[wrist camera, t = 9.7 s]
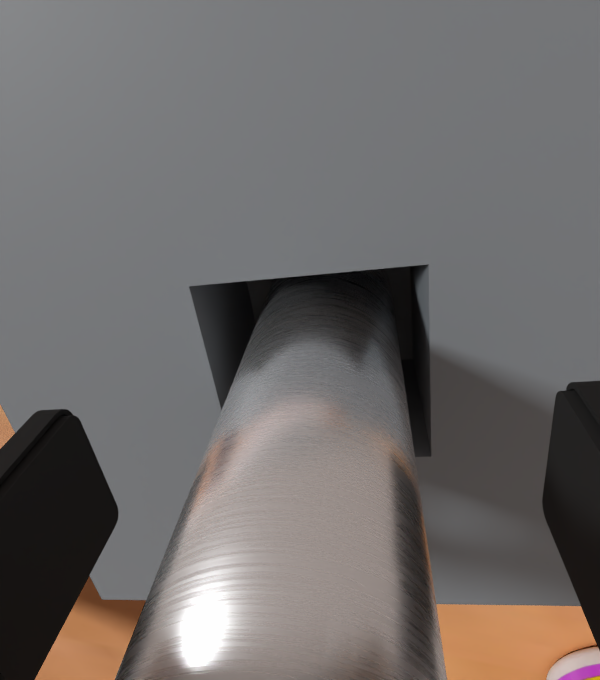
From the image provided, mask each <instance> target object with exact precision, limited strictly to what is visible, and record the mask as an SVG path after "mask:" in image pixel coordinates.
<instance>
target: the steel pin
mask: <svg viewBox="0 0 600 680" xmlns="http://www.w3.org/2000/svg"><path fill="white" fill-rule="evenodd" d="M115 680H447V677H446V670H445V663H444V656H443V649H442V642H441V635H440V628H439V621H438V614H437V607H436V600H435V593H434V586H433V579H432V572H431V565H430V558H429V551H428V544H427V537H426V530H425V523H424V516H423V509H422V502H421V495H420V488H419V481H418V474H417V468H416V461H415V454H414V447H413V440H412V433H411V426H410V419H409V412H408V405H407V398H406V391H405V384H404V377H403V370H402V363H401V356H400V349H399V342H398V335H397V328H396V321H395V314H394V307H393V300H392V293H391V286H390V282H389V278H388V276H387V273H386V271H385V269H373V270H362V271H351V272H340V273H330V274H319V275H308V276H297V277H286V278H275V279H274V280H273V282H272V285H271V287H270V290H269V292H268V295H267V297H266V300H265V302H264V305H263V307H262V310H261V312H260V315H259V317H258V320H257V323H256V325H255V328H254V330H253V333H252V335H251V338H250V340H249V343H248V345H247V348H246V350H245V353H244V355H243V358H242V360H241V363H240V365H239V368H238V370H237V373H236V375H235V378H234V380H233V383H232V385H231V388H230V391H229V393H228V396H227V398H226V401H225V403H224V406H223V408H222V411H221V413H220V416H219V418H218V421H217V423H216V426H215V428H214V431H213V433H212V436H211V438H210V441H209V443H208V446H207V448H206V451H205V454H204V456H203V459H202V461H201V464H200V466H199V469H198V471H197V474H196V476H195V479H194V481H193V484H192V486H191V489H190V491H189V494H188V496H187V499H186V501H185V504H184V506H183V509H182V511H181V514H180V517H179V519H178V522H177V524H176V527H175V529H174V532H173V534H172V537H171V539H170V542H169V544H168V547H167V549H166V552H165V554H164V557H163V559H162V562H161V564H160V567H159V569H158V572H157V574H156V577H155V580H154V582H153V585H152V587H151V590H150V592H149V595H148V597H147V600H146V602H145V605H144V607H143V610H142V612H141V615H140V617H139V620H138V622H137V625H136V627H135V630H134V632H133V635H132V637H131V640H130V643H129V645H128V648H127V650H126V653H125V655H124V658H123V660H122V663H121V665H120V668H119V670H118V673H117V675H116V678H115Z"/></svg>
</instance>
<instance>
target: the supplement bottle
mask: <svg viewBox="0 0 600 680" xmlns="http://www.w3.org/2000/svg"><path fill="white" fill-rule="evenodd" d="M546 680H600V651H599V648H598V647H591V648H586V649H582V650H578V651H575V652H573V653H570V654H568V655H566V656H564V657H562V658H561V659H559V660H558V661H557V662H556V663H555V664H554V665H553V666H552V667H551V669H550V670H549V672H548V674H547V678H546Z"/></svg>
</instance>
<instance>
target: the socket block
mask: <svg viewBox="0 0 600 680" xmlns="http://www.w3.org/2000/svg"><path fill="white" fill-rule="evenodd" d="M373 269H385V271H386V273H387V276H388V278H389V282H390V286H391V293H392V300H393V307H394V314H395V321H396V328H397V335H398V342H399V349H400V356H401V363H402V370H403V377H404V384H405V391H406V398H407V405H408V412H409V419H410V426H411V433H412V440H413V447H414V454H415V461H416V468H417V474H418V481H419V488H420V495H421V502H422V509H423V516H424V523H425V530H426V537H427V544H428V551H429V558H430V565H431V572H432V579H433V586H434V593H435V600H436V604H475V605H551V606H581V604H580V602H579V600H578V597H577V595H576V592H575V590H574V587H573V585H572V583H571V580H570V578H569V575H568V573H567V570H566V568H565V566H564V563H563V561H562V558H561V556H560V553H559V551H558V549H557V546H556V544H555V541H554V539H553V536H552V534H551V532H550V529H549V527H548V524H547V522H546V519H545V516H544V512H543V506H542V497H543V489H544V481H545V474H546V466H547V459H548V451H549V443H550V436H551V428H552V420H553V413H554V405H555V398H556V394H557V392H558V391H566V388H567V386H568V384H569V383H571V382H584V381H600V0H0V404H1V406H2V408H3V410H4V412H5V414H6V416H7V418H8V420H9V422H10V424H11V426H12V428H13V429H14V431H15V433H16V432H17V431H18V430H19V429H20V428H21V427H22V426H23V424H24V423H25V422H26V421H27V420H28V419H29V418H30V417H31V416H32V415H33V414H34V413H35V412H37V411H40V410H54V409H67V410H69V411H70V412H71V413H72V414H73V415H74V416H77V417H78V418H79V419H80V421H81V423H82V426H83V428H84V430H85V432H86V435H87V437H88V439H89V442H90V444H91V446H92V449H93V451H94V453H95V456H96V458H97V460H98V462H99V465H100V467H101V469H102V472H103V474H104V476H105V479H106V481H107V483H108V485H109V488H110V490H111V492H112V495H113V497H114V499H115V502H116V504H117V507H118V512H119V514H118V521H117V524H116V526H115V528H114V530H113V532H112V534H111V536H110V537H109V539H108V541H107V543H106V545H105V547H104V549H103V551H102V553H101V554H100V556H99V558H98V560H97V562H96V564H95V566H94V568H93V570H92V572H91V573H90V575H89V576H90V578H91V580H92V581H93V583H94V585H95V587H96V589H97V591H98V593H99V595H100V597H101V599H102V600H147V597H148V595H149V592H150V590H151V587H152V585H153V582H154V580H155V577H156V574H157V572H158V569H159V567H160V564H161V562H162V559H163V557H164V554H165V552H166V549H167V547H168V544H169V542H170V539H171V537H172V534H173V532H174V529H175V527H176V524H177V522H178V519H179V517H180V514H181V511H182V509H183V506H184V504H185V501H186V499H187V496H188V494H189V491H190V489H191V486H192V484H193V481H194V479H195V476H196V474H197V471H198V469H199V466H200V464H201V461H202V459H203V456H204V454H205V451H206V448H207V446H208V443H209V441H210V438H211V436H212V433H213V431H214V428H215V426H216V423H217V421H218V418H219V416H220V413H221V411H222V408H223V406H224V403H225V401H226V398H227V396H228V393H229V391H230V388H231V385H232V383H233V380H234V378H235V375H236V373H237V370H238V368H239V365H240V363H241V360H242V358H243V355H244V353H245V350H246V348H247V345H248V343H249V340H250V338H251V335H252V333H253V330H254V328H255V325H256V323H257V320H258V317H259V315H260V312H261V310H262V307H263V305H264V302H265V300H266V297H267V295H268V292H269V290H270V287H271V285H272V282H273V280H274V279H275V278H286V277H297V276H308V275H319V274H330V273H340V272H351V271H362V270H373Z"/></svg>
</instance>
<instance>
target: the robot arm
mask: <svg viewBox="0 0 600 680" xmlns="http://www.w3.org/2000/svg"><path fill="white" fill-rule="evenodd" d="M542 506H543V512H544V516H545V519H546V522H547V524H548V527H549V529H550V532H551V534H552V536H553V539H554V541H555V544H556V546H557V549H558V551H559V553H560V556H561V558H562V561H563V563H564V566H565V568H566V570H567V573H568V575H569V578H570V580H571V583H572V585H573V587H574V590H575V592H576V595H577V597H578V600H579V602H580V604H581V607H582V609H583V612H584V614H585V617H586V619H587V621H588V624H589V626H590V629H591V631H592V634H593V636H594V638H595V641H596V643H597V646H598V648H599V651H600V381H584V382H571V383H569V384H568V386H567V388H566V391H558V392H557V394H556V398H555V405H554V413H553V420H552V428H551V436H550V443H549V451H548V459H547V466H546V474H545V481H544V489H543V497H542ZM118 514H119V512H118V507H117V504H116V502H115V499H114V497H113V495H112V492H111V490H110V488H109V485H108V483H107V481H106V479H105V476H104V474H103V472H102V469H101V467H100V465H99V462H98V460H97V458H96V456H95V453H94V451H93V449H92V446H91V444H90V442H89V439H88V437H87V435H86V432H85V430H84V428H83V426H82V423H81V421H80V419H79V418H78V417H77V416H74V415H73V414H72V413H71V412H70V411H69V410H67V409H54V410H40V411H37V412H35V413H34V414H33V415H32V416H31V417H30V418H29V419H28V420H27V421H26V422H25V423H24V424H23V426H22V427H21V428H20V429H19V430H18V431H17V432H16V433H15V434H14V435H13V436H12V437H11V438H10V439H9V441H8V442H7V443H6V444H5V445H4V446H3V447H2V448H1V449H0V680H35V678H36V676H37V674H38V672H39V670H40V668H41V666H42V664H43V662H44V661H45V659H46V657H47V655H48V653H49V651H50V649H51V647H52V645H53V644H54V642H55V640H56V638H57V636H58V634H59V632H60V630H61V628H62V626H63V625H64V623H65V621H66V619H67V617H68V615H69V613H70V611H71V609H72V608H73V606H74V604H75V602H76V600H77V598H78V596H79V594H80V592H81V590H82V589H83V587H84V585H85V583H86V581H87V579H88V577H89V575H90V573H91V572H92V570H93V568H94V566H95V564H96V562H97V560H98V558H99V556H100V554H101V553H102V551H103V549H104V547H105V545H106V543H107V541H108V539H109V537H110V536H111V534H112V532H113V530H114V528H115V526H116V524H117V521H118Z"/></svg>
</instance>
